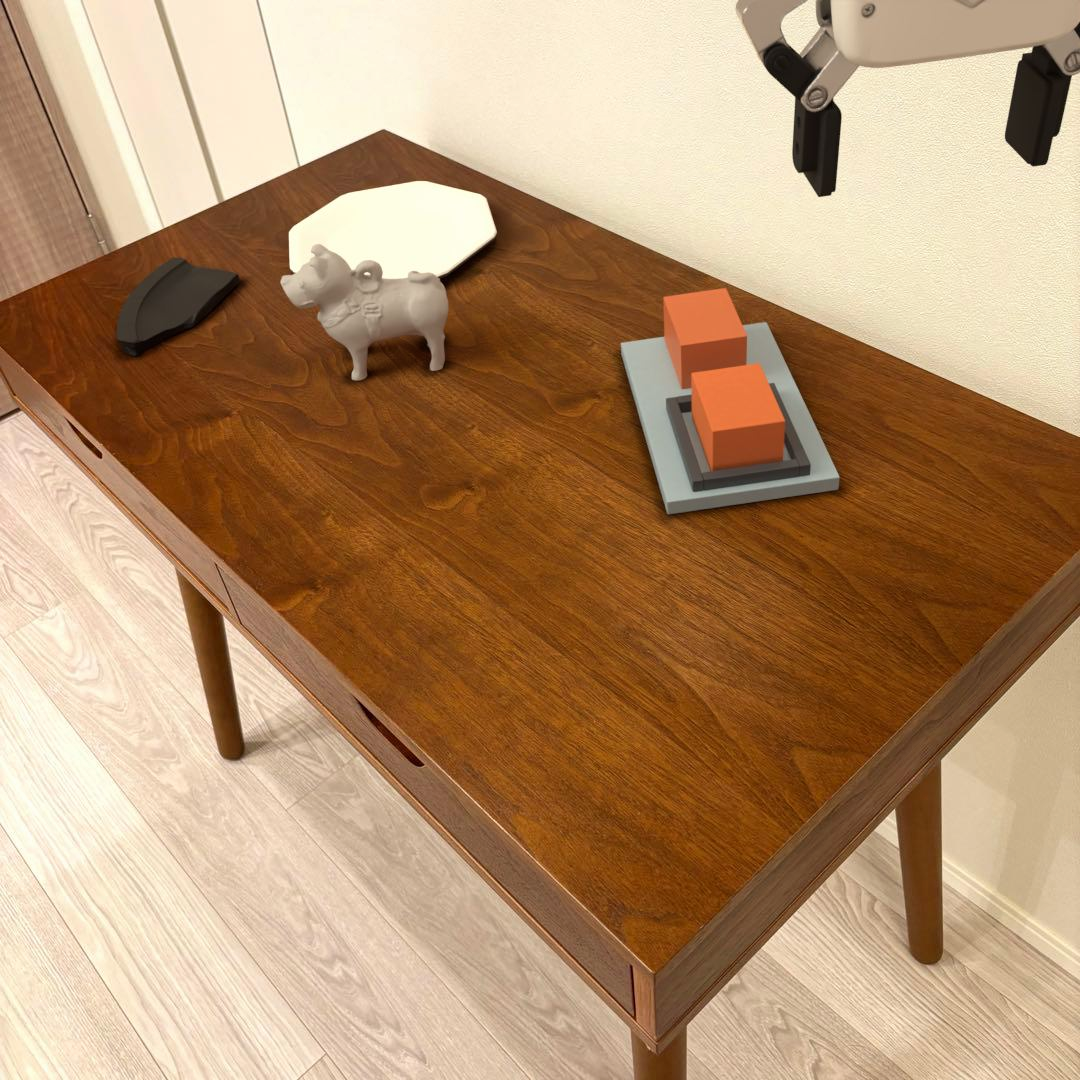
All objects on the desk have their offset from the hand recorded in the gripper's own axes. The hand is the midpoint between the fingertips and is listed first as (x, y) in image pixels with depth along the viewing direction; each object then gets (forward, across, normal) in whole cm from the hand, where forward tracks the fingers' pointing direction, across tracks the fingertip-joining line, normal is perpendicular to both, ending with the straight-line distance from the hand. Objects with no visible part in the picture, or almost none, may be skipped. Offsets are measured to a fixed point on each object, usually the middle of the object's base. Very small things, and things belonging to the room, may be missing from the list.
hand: (921, 168), depth 52 cm
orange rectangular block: (+27, -4, +15) cm, 31 cm away
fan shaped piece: (+28, -50, +48) cm, 75 cm away
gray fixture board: (+28, -4, +20) cm, 35 cm away
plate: (+28, -29, +54) cm, 68 cm away
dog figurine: (+28, -30, +34) cm, 54 cm away
